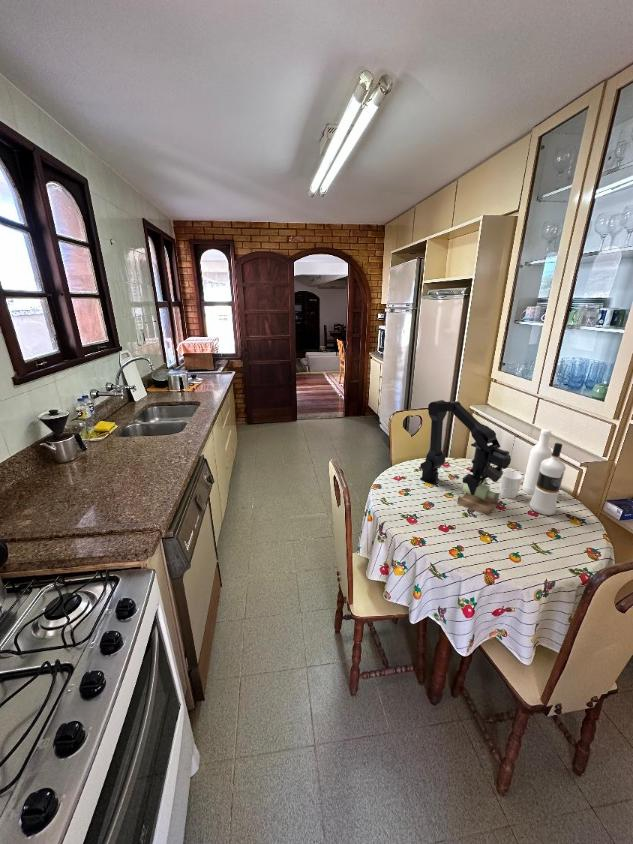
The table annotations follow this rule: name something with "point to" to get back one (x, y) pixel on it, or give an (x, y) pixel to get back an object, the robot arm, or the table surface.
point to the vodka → (548, 483)
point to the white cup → (510, 484)
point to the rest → (478, 503)
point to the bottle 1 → (481, 492)
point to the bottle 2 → (536, 461)
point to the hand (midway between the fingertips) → (475, 492)
